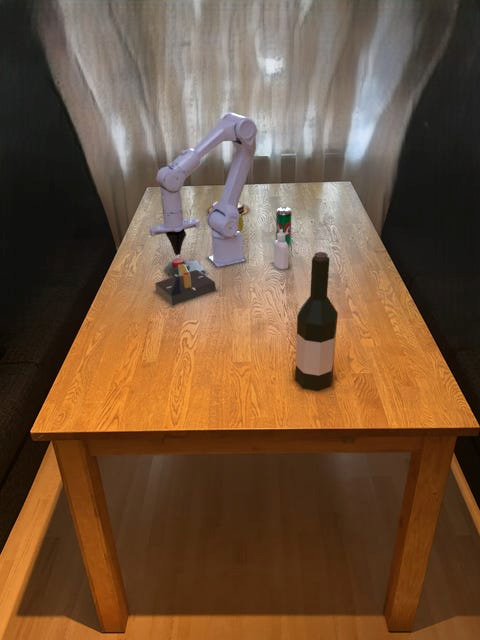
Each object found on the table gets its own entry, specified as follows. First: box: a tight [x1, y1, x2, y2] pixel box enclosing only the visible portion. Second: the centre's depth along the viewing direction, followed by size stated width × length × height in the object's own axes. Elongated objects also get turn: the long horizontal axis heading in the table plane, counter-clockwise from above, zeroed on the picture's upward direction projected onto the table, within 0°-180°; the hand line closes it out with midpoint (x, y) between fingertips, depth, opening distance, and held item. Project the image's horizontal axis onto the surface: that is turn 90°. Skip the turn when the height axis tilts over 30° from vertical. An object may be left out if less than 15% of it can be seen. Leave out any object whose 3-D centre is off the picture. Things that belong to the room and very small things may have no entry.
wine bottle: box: [294, 251, 339, 392], centre depth 109 cm, size 8×8×30 cm
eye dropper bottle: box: [273, 229, 289, 270], centre depth 161 cm, size 4×6×12 cm
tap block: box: [154, 270, 216, 307], centre depth 151 cm, size 14×12×3 cm
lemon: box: [238, 214, 244, 233], centre depth 185 cm, size 6×6×8 cm
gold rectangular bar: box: [178, 264, 191, 288], centre depth 150 cm, size 8×2×4 cm, turn 19°
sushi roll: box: [208, 200, 248, 216], centre depth 206 cm, size 15×15×4 cm
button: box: [171, 257, 185, 268], centre depth 160 cm, size 4×4×2 cm
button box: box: [165, 260, 206, 278], centre depth 162 cm, size 10×8×3 cm
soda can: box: [275, 206, 293, 246], centre depth 176 cm, size 5×5×12 cm
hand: (177, 253), depth 159 cm, fingers closed
